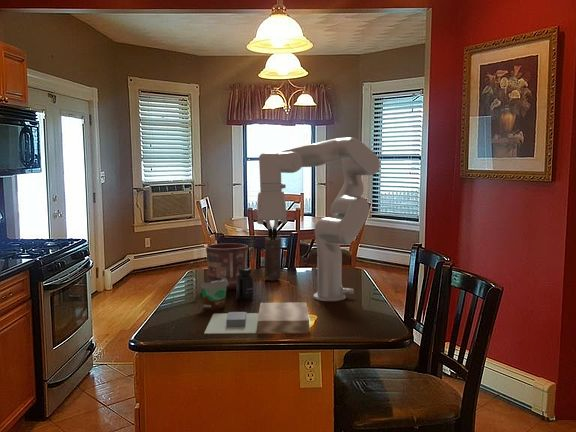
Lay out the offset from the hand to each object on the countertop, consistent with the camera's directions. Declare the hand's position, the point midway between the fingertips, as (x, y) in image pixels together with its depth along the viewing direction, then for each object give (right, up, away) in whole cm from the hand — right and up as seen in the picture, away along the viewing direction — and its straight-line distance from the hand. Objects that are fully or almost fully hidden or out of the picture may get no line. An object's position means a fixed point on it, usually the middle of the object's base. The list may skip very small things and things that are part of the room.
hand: (272, 239), depth 188 cm
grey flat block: (-11, -24, -15) cm, 31 cm away
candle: (-2, -21, +52) cm, 56 cm away
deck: (+4, -27, -14) cm, 30 cm away
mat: (-13, -27, -14) cm, 33 cm away
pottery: (-20, -22, +40) cm, 50 cm away
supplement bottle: (-11, -24, +19) cm, 33 cm away
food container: (-20, -25, +7) cm, 33 cm away
